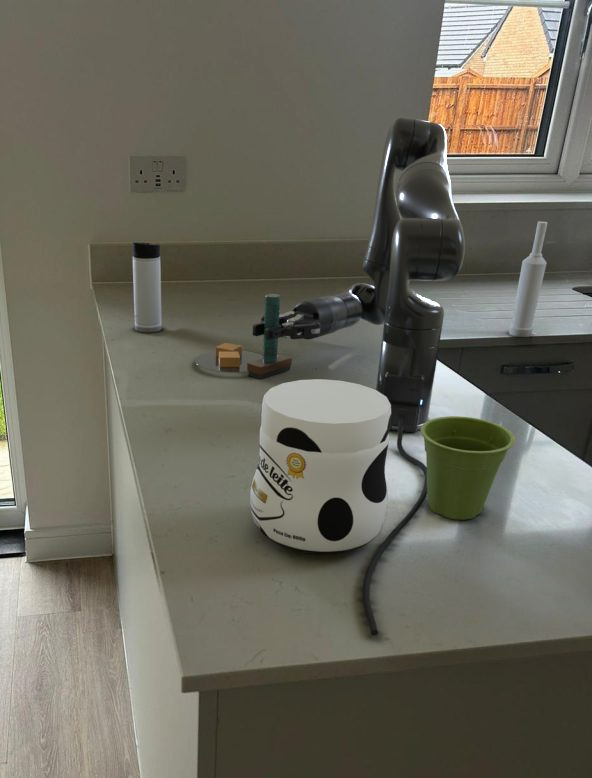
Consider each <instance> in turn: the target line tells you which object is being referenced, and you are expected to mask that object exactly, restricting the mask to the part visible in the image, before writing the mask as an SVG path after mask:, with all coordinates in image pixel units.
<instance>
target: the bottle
mask: <svg viewBox="0 0 592 778" xmlns="http://www.w3.org/2000/svg"><path fill="white" fill-rule="evenodd" d="M547 227H548V222H547V221H537V224H536V229H535V236H534V239H533V246H532V250H531V252H530V253H529V256H527V257H526V258H525V259H523V260H522V262H521V269H520V274H519V279H518V285H517V290H516V295H515V302H514V308H513V312H512V313H513V314H512V319H511V324H510V325H509V329H508V334H509V335H510V336H513V337H517V338H529V337H531V335H532V334H533V333H532V332H533V329H534V327H533V323H534V319H535V315H536V310H537V307H538V302H539V298H540V293H541V289H542V286H543V281H544V276H545V271H546V268H547V261H546V260H545V258H544V257H543V254H542V250H543V246H544V240H545V236H546V232H547Z"/></svg>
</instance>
